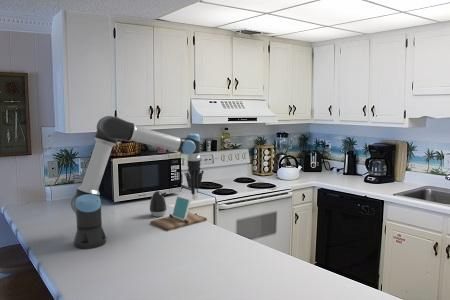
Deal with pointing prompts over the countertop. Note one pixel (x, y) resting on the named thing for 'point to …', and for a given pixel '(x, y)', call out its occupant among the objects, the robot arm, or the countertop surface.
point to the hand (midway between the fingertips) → (194, 199)
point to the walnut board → (177, 221)
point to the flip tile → (181, 208)
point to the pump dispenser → (158, 204)
